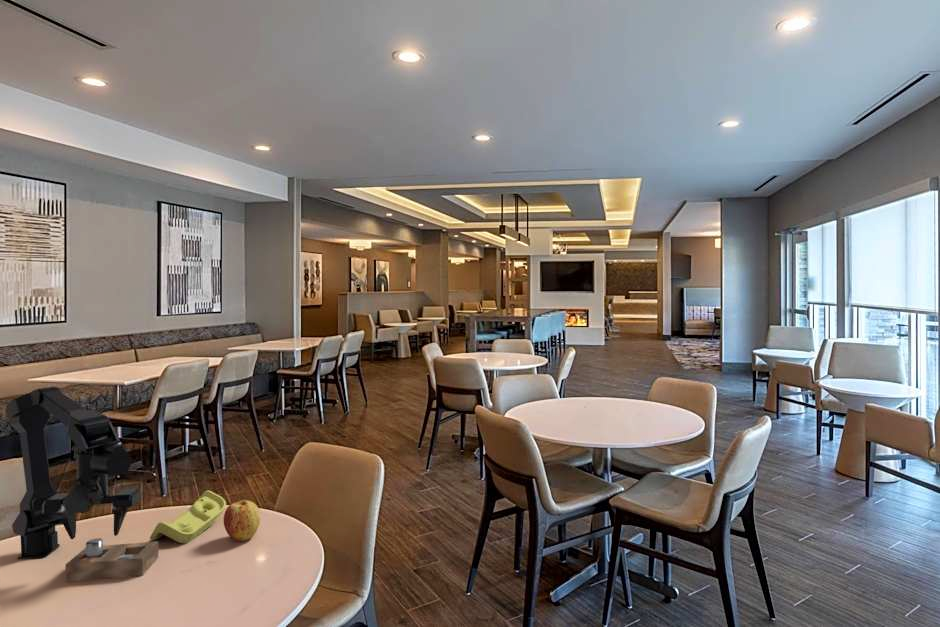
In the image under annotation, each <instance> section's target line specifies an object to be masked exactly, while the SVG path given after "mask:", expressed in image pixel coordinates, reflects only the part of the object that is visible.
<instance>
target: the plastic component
mask: <svg viewBox="0 0 940 627" xmlns="http://www.w3.org/2000/svg"><path fill="white" fill-rule="evenodd" d="M226 507H227V502H226V500H225V498H223V496H221V495H219V494H217V493H215V492H213V491H211V490H205V491H204V492H203V493H202V494H201V495H200V496H199V497H198V499H197V500H196V501H195V502H194V503H193V504H192V505H191V506H190V507H189V508H188V509H187V510H186V511H185V512H184V513H182V514H181V515H178V517H176V518H175V519H173V520H172V521H171V522H169V523H168V522H166V521H163V520H162V521H160V522H158V523H157V524H156V526H155V527H154V530H153V531H152V533H151V534H150V536H149V539H150V540H151V541H152V542H155V541H157V540H158V539H160V538H161V537H163V536H166V537H168V538H170V539H171V540H173V541H175V542H177V543H180V544H186V543H187V544H188V543H189V542H191V541H193V540H195V538H197V537H198V536H200V535H201V534H202V533H203V532H204V531H205V530H207V529H208V528H209V527H211V526H212V525H213V523H214V522H215V520H216V519H217V518H218V517H220V515H221V514H222V513H223V511H224V510H225V508H226Z"/></svg>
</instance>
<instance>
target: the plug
mask: <svg viewBox="0 0 940 627" xmlns="http://www.w3.org/2000/svg"><path fill="white" fill-rule="evenodd" d="M103 540H104V539H103V538H93V539H89V540H88V541H86V542H85V548H86V556H87V558H92V557H95V558H100V557H102V556H103V546H104V544H103Z"/></svg>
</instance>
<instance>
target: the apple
mask: <svg viewBox="0 0 940 627" xmlns="http://www.w3.org/2000/svg"><path fill="white" fill-rule="evenodd" d="M223 515H224V516H223V527H224V529H225V532H226V533H227V535H228V536H229V538H230V539H231V540H232V541H234V542H246V541H248V540H249V539H251V538H253V537H254V536H255V535H256V533H257V531H258V530H259V526H260V523H261V511H260V509H259V506H258V505H257V504H256V503H255V502H253V501H251V500H247V499H245V500H238V501H235V502H232V503H230V504H229V505H228V506H227V508H226V509H225V512H224V514H223Z"/></svg>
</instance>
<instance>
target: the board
mask: <svg viewBox="0 0 940 627" xmlns="http://www.w3.org/2000/svg"><path fill="white" fill-rule="evenodd" d="M157 559H159V541H157V540H155V541H146V542H144V541H143V542H133V543H132V542H131V543H119V544H108V545H107V544H106V545H103V556H102V557H100V558H95V557H92V558H87V556H86V547H85V548H83V549H82V550H80V552H78V553H77V554H76V555H75V556H74V557H73V558H71V559H70V560H69V561H68V562H66V564H64V565H65V567H64V568H65V569H64V570H65V583H72V582H82V581H84V582H85V581H95V580H96V581H97V580H105V579H106V580H108V579H119V578H130V577H140V576H141V577H142V576H144V575H145V573H146V572H148V570H149V569H150V568H151V567H152V566H153V564H154V563H155V562H156V561H157Z"/></svg>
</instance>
